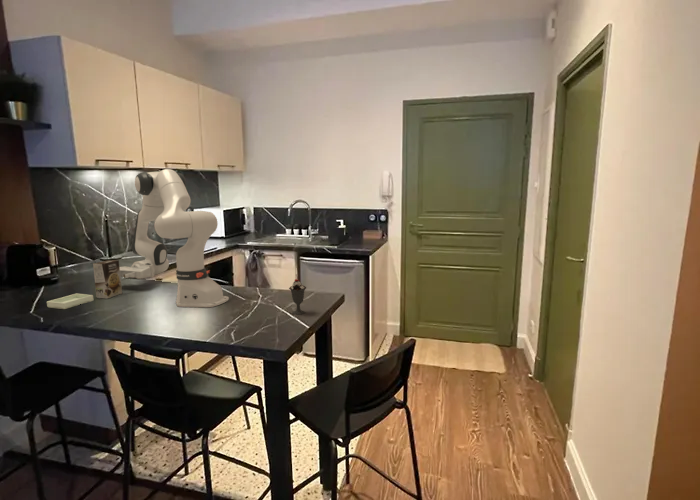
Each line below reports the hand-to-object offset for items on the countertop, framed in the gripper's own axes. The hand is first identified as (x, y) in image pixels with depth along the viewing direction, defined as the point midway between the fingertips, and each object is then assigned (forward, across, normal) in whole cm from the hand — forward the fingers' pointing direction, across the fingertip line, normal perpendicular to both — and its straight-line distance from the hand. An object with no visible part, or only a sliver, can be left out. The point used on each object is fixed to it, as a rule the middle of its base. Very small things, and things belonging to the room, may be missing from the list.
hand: (116, 275), depth 194 cm
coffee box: (+5, 0, +9) cm, 10 cm away
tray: (+20, -5, +8) cm, 22 cm away
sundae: (+2, +96, +9) cm, 96 cm away
